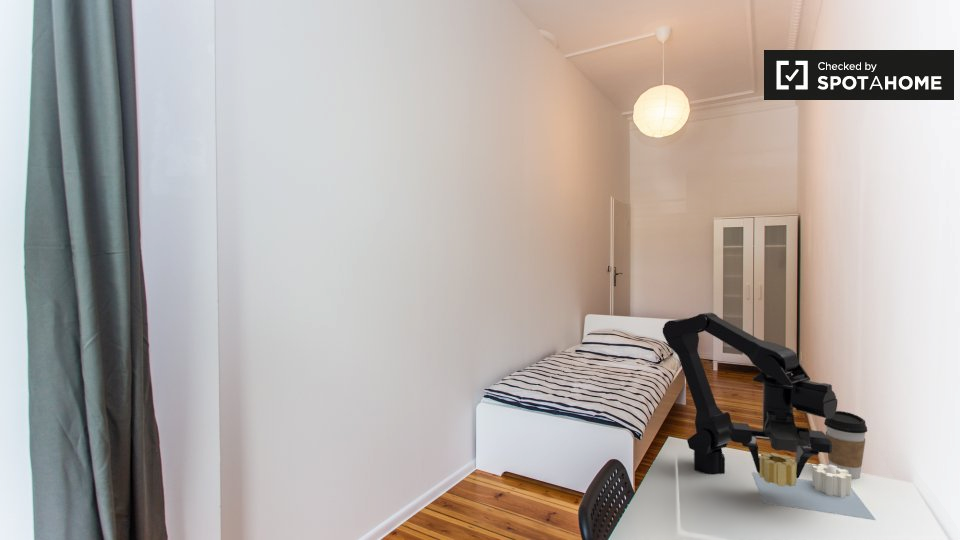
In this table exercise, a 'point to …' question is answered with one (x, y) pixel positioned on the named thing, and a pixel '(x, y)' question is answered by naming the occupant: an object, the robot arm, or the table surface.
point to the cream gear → (832, 481)
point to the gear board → (811, 497)
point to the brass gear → (777, 469)
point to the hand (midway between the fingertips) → (777, 474)
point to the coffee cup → (846, 441)
